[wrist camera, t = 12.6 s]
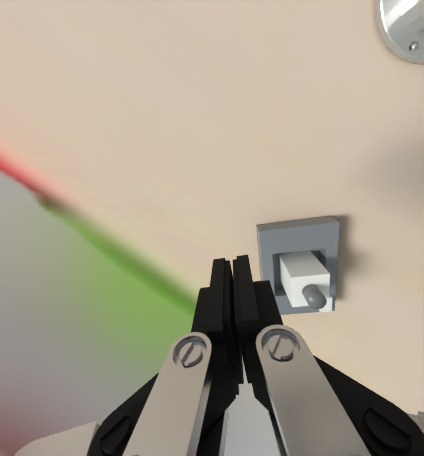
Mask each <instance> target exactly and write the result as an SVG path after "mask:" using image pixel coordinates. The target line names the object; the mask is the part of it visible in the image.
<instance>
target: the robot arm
mask: <svg viewBox="0 0 424 456" xmlns="http://www.w3.org/2000/svg"><path fill="white" fill-rule="evenodd" d="M375 19H376V24H377V29H378V32H379V34H380V37H381V39H382V41H383V43H384V44H385V45H386V47H387V48H388V49H389V51H390V52H391V53H393V54H394V55H395V56H397V57H398V58H400V59H402V60H405V61H407V62H411V63H418V64H424V0H375ZM242 357H243V362H244V367H245V371H246V376H247V381H248V383H252V386H253V391H254V396H255V398H256V399H257V400H258V401H259V402H260V403H261V404H262V405H263V406H264V407H265V408H266V409H267V411H268V416H269V419H270V423H271V427H272V430H273V434H274V437H275V441H276V444H277V448H278V452H279V456H424V412H420V411H418V415H413V414H408V413H405V412H404V411H403V410H401V409H400V408H399V407H397V406H396V405H394V404H393V403H391V402H390V401H388V400H386V399H385V398H383V397H381V396H380V395H378V394H376V393H375V392H373V391H371V390H370V389H368V388H367V387H365V386H363V385H362V384H360V383H358V382H357V381H355V380H353V379H352V378H350V377H348V376H347V375H345V374H343V373H342V372H340V371H339V370H337V369H335V368H334V367H332V366H330V365H329V364H327V363H325V362H324V361H322V360H320V359H319V358H317V357H315V356H314V355H312V353H311V351H310V349H309V348H308V346H307V344H306V343H305V341H304V339H303V338H302V336H301V335H300V334H299V333H298V332H297V331H295V330H294V329H293V328H290V327H288V326H284V325H283V322H282V319H281V316H280V312H279V309H278V306H277V303H276V299H275V296H274V293H273V290H272V287H271V283H270V281H269V280H264V281H256V282H253V280H252V275H251V269H250V264H249V258H248V255H242V256H237V259H235V260H233V275H232V270H231V265H230V261H229V260H228V261H226V260H225V258H221V259H214V260H213V267H212V274H211V282H210V287H206V288H201V289H200V291H199V295H198V300H197V305H196V310H195V315H194V319H193V324H192V330H191V333H188V334H185V335H183V336H181V337H180V338H179V339H177V340H176V341H175V342H174V343H173V345H172V346H171V348H170V350H169V352H168V354H167V356H166V359H165V361H164V363H163V365H162V368H161V370H160V372H159V373H158V374H156V375H155V376H154V377H153V378H152V379H151V380H149V381H148V382H147V383H146V384H145V385H144V386H143V387H141V388H140V389H139V390H138V391H137V392H135V394H133V395H132V396H131V397H130V398H128V399H127V400H126V401H125V402H124V403H123V404H122V405H120V406H119V407H118V408H117V409H116V410H114V411H113V412H112V413H111V414H110V415H109V416H108V417H107V418H106V419H105V420H104V421H103V422H102V423H100V424H99V423H98V421H94V422H91V423H87V424H84V425H81V426H78V427H75V428H72V429H69V430H65V431H62V432H59V433H56V434H53V435H50V436H47V437H43V438H41V439H37V440H35V441H33V442H31V443H29V444H27V445H25V446H24V447H23V448H22V449H20V450H19V451H18V452H17V453H16V454H15V455H14V456H224V449H225V442H226V433H227V425H228V417H229V406H230V404H231V403H232V402H233V401H234V399H235V398H236V395H239V386H238V384H243V383H244V379H243V364H242Z"/></svg>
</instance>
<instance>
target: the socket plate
mask: <svg viewBox="0 0 424 456" xmlns="http://www.w3.org/2000/svg"><path fill="white" fill-rule="evenodd" d="M256 227H257V239H258V251H259V263H260V274H261V281H264V280H269V281H270V283H271V287H272V290H273V293H274V296H275V299H276V303H277V306H278V309H279V312H280V315H285V314H298V313H311V312H329V311H335V294H336V278H337V261H338V244H339V227H340V221H338V220H336V219H335V218H333V217H331V216H325V217H317V218H309V219H300V220H292V221H284V222H276V223H268V224H260V225H256ZM302 251H311V252H312V254H313V255H314V256H315V257H316V258H317V259H318V260H319V262H320V263H321V264H322V265H323V266H324V267H325V268H326V270H327V271H328V272H329V273H330V287H329V304H326V305H325V306H324V307H323V308H321V309H317V310H316V309H312V308H310V307H309V306H301V307H292V305H291V303H290V301H289V299H288V296H287V294H286V292H285V289H284V287H283V285H282V283H281V280H280V268H279V254H285V253H293V252H302Z"/></svg>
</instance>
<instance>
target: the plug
mask: <svg viewBox="0 0 424 456" xmlns="http://www.w3.org/2000/svg"><path fill="white" fill-rule="evenodd" d="M279 268H280V280H281V283H282V285H283V287H284V289H285V292H286V294H287V296H288V299H289V301H290V303H291V305H292V307H301V306H309V307H310V308H312V309H316V310H317V309H321V308H323V307H324V306H325V305H326V304H329V287H330V273H329V272H328V271H327V270H326V268H325V267H324V266H323V265H322V264H321V263H320V262H319V260H318V259H317V258H316V257H315V256H314V255H313V254H312V252H311V251H302V252H293V253H285V254H279Z"/></svg>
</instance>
